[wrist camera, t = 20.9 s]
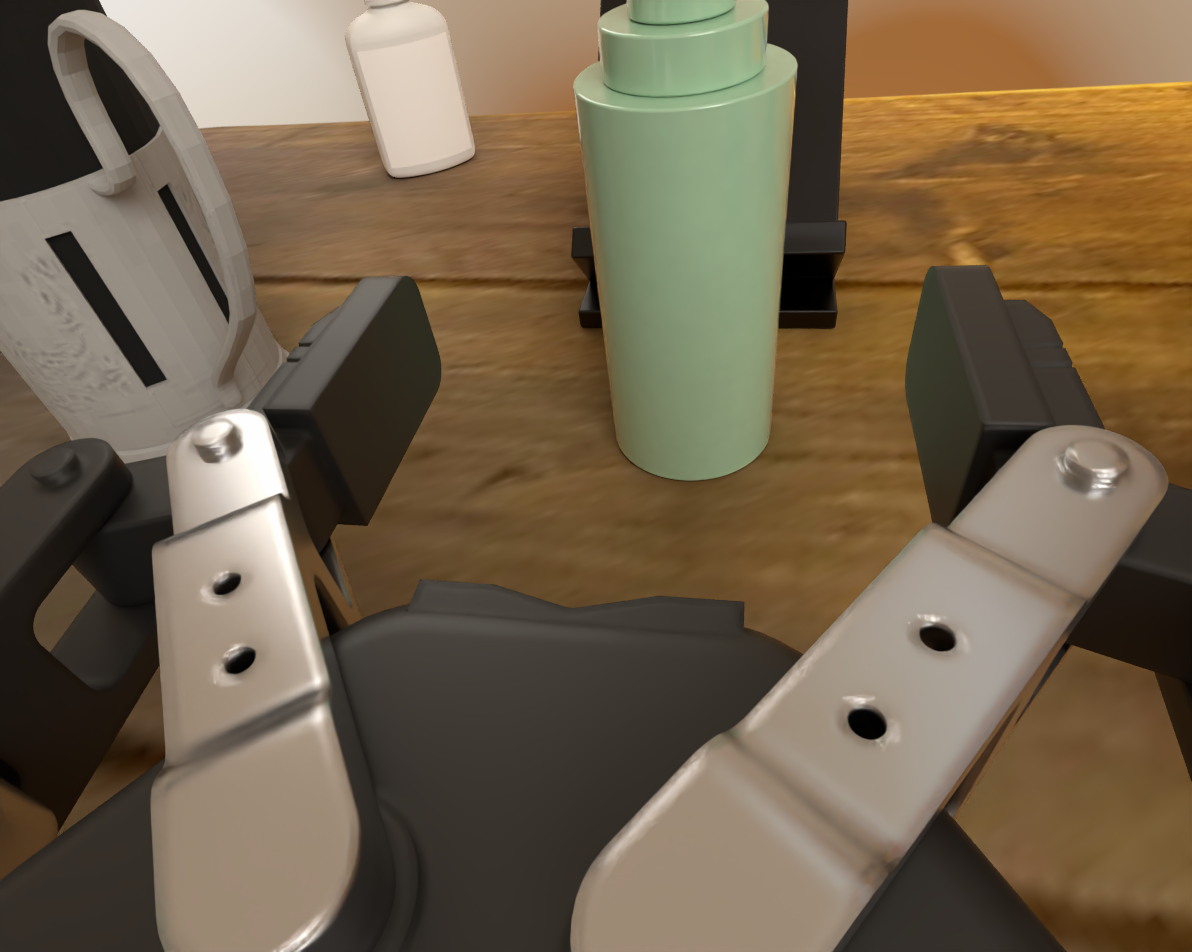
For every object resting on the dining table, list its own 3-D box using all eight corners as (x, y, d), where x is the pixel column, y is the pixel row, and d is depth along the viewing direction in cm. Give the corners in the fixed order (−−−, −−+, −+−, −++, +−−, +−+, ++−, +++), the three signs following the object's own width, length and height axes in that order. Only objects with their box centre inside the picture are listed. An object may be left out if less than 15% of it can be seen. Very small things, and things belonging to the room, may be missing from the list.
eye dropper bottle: (466, 175, 43) (407, -77, 34) (377, 181, 44) (298, -63, 35) (482, 147, 46) (432, -91, 38) (399, 153, 47) (331, -78, 38)
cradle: (835, 329, 28) (899, -135, 18) (580, 328, 30) (518, -90, 20) (820, 161, 39) (854, -182, 29) (634, 168, 41) (611, -150, 31)
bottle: (766, 484, 26) (791, 487, 12) (622, 477, 27) (485, 473, 13) (785, 78, 26) (832, -410, 12) (640, 88, 27) (523, -351, 13)
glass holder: (222, 327, 33) (-4, -83, 23) (449, 417, 26) (279, -104, 16) (33, 442, 28) (-364, -12, 18) (253, 587, 22) (-172, 0, 11)
